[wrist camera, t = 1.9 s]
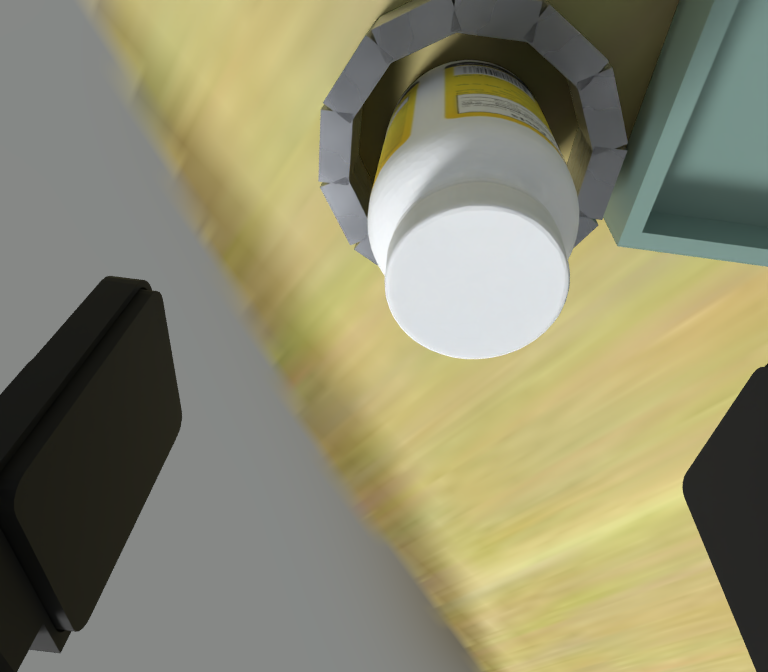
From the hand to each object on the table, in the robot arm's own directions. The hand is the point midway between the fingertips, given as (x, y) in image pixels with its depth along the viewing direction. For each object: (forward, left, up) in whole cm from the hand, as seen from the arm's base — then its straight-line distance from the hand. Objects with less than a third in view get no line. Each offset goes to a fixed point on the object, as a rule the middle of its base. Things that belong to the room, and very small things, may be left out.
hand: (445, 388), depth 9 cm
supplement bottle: (-1, 0, -14) cm, 14 cm away
